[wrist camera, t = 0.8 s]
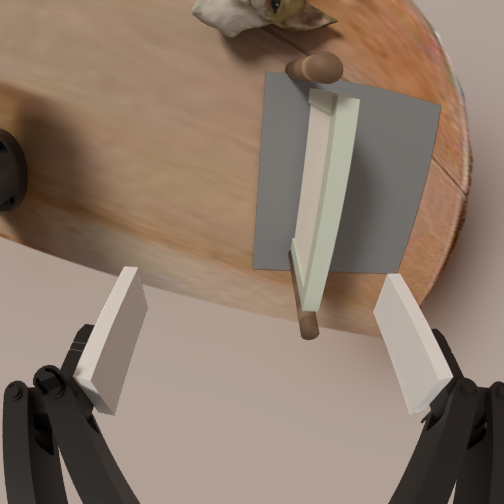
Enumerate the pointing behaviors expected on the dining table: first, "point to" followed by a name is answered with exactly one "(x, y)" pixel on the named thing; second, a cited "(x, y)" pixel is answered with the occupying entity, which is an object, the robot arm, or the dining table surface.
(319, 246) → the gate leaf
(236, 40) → the dining table surface
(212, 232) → the dining table surface
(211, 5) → the ceramic sculpture
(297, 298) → the gate posts
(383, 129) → the mat
